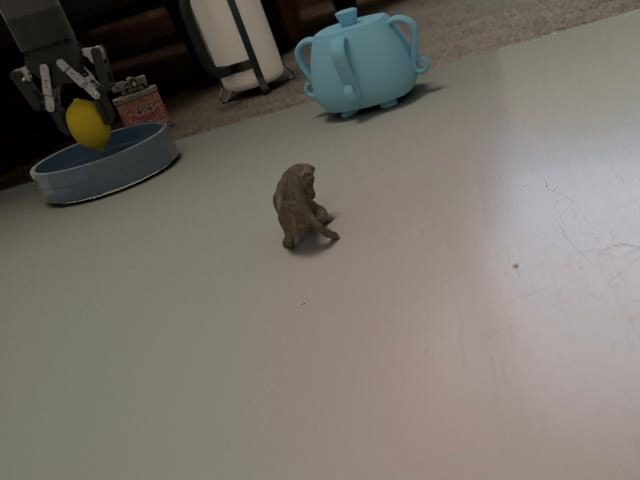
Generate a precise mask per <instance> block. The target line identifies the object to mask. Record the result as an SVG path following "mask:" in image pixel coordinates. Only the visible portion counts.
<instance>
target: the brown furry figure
mask: <svg viewBox="0 0 640 480" xmlns="http://www.w3.org/2000/svg"><path fill="white" fill-rule="evenodd" d="M315 171H316V167H315V166H314V165H311V164H309V163H304V162H303V163H302V162H301V163H295V164H293V165H291V166H290V167H288V168H287V169H286V170H285V171H284V172H282V175H281V177H280V179H279V181H278V182H277V183H276V187H275V192H273V196H272V205H273V208H274V210H275V212H276V214H277V221H278V223H279V226H280V227H281V229H282V231H283V234H284V237H283V239H282V242H281V243H282V247H284V248H290V247H292V246H293V245H294V243H295V241H296V238H295V232H297V233H298V234H300V235H301V236H306V235H307V234H308V232H309V228H311V229H312V230H314V231H315V232H316V233H318V234H320V235H322V236H323V237H325V238H326V239H330V240H336V239H338V238H339V237H340V235H339V234H338V232H337V231H334V230H332V229H330V228H328V227H326V226H325V225H324V224H326V223H329V222H330V221H331V220H332V219H333V216H332V215H330V214H329V213H328V210H327V209H326V207H324V206H323V205H321V204H319V203H318V202H316V201H315V200H314V199H315V198H316V196H317V195H316V191H315V187H314V183H315V180H316V178H315V174H314V173H315Z"/></svg>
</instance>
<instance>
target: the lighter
mask: <svg viewBox="0 0 640 480" xmlns="http://www.w3.org/2000/svg"><path fill="white" fill-rule="evenodd" d="M147 81H148V80H147V77H146V75H145V74H141V75H138V76H136V77H134V76H128V77H126V79H125V80H121V81H118V82H115V86H114V87H113V88H112V89H111V92H112V93H113V94H115V93H118V92H120V93H121V96H119V97H116V98H114V99H111V100H112V103H113V105H114V106H115V107H116V110H117V113H118V114H119V116H120V118H121V120H122V122H123V124H124V126H125V127H128V126H132V125H137V124H142V123H147V122H158V121H159V122H164V123H166V124H167V126H168V128H169V130H171V129H173V128H174V127H175V124H174V122H173V120H172V119H171V118H170V115H169V113H168V111H167V108H166V106H165V104H164V102H163V100H162V97H161V95H160V93H159V88H158V86H157V84H151V85H148V82H147ZM125 89H127V91H126V90H125Z"/></svg>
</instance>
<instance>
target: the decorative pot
mask: <svg viewBox="0 0 640 480" xmlns="http://www.w3.org/2000/svg"><path fill="white" fill-rule="evenodd" d="M357 8H358V7H348V8H344V9H342V10H339V11H337V12H336V13H334V16H335V18H336V19H337V21H338V23H335V24H332V25H328V26H326V27H325V28H323V29H321V30H319V31H318V32H317V33H315V34H314V35H313V36H307V37H304V38H303V39H301V40H300V41H299V42H298V43H297V45H296V46H295V49H294V58H295V61H296V63H297V66H298V67H299V69H300V70H301V71H302V73H303V74H304V75H305V77H306V78H307V79H308V81H307V82H305V84H304V88H303V89H304V94H305V95H306V96H307V97H308V98H310V99H314V100H315V101H316V102H317V103H318V105H320V107H322V108H323V109H324V110H325V111H327V112H328V113H329V114H337V113H341V115H340V118H342V117H344V118H348V117H347V116H349V117H352V116H354V115H356V114H358V113H357V112H359V110H361V109H367V108H370V107H374V106H377V105H379V106H380V108H381V109H382V108H385V109H387V108H386V107H389V108H391V107H390V106H393V105H395V106H397V105H398V104H399V102H398V101H397V99H398V98H401V97H403V96H405V95H407V94H408V93H409V92H410V91H412V89H413V88H414V87H415V86H416V83H417V79H418V76H419V75H420V76H421V75H425V74H426V73H428V72H429V71H430V70H431V66H432V65H431V60H430V58H429V57H428V56H427V55H425V54H419V53H420V30H419V26H418V23H417V22H416V21H415V19H413V18H412V17H411V16H408V15H405V14H393V15H392V16H389V14H388V13H386V12H377V13H372V14H368V15H363V16H359V17H358V9H357ZM397 23H402V24H405V25H406V26H408V28H409V30H410V35H411V43H410V41H409V39H408V38H407V36H406V35H405V34H404V32H403V31H402V29H401V28H400V27H399V26H398V25H397ZM309 45H311V49H310V50H311V51H310V65H309V64H308V62H307V61H306V58H305V56H304V51H303V50H304V49H305V47H306V46H309ZM420 61H422V63H423V66H421V65H420V63H419V62H420ZM311 86H312V87H311ZM397 103H398V104H397ZM396 104H397V105H396ZM393 107H394V106H393ZM355 113H356V114H355ZM353 114H354V115H353ZM351 115H352V116H351Z"/></svg>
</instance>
